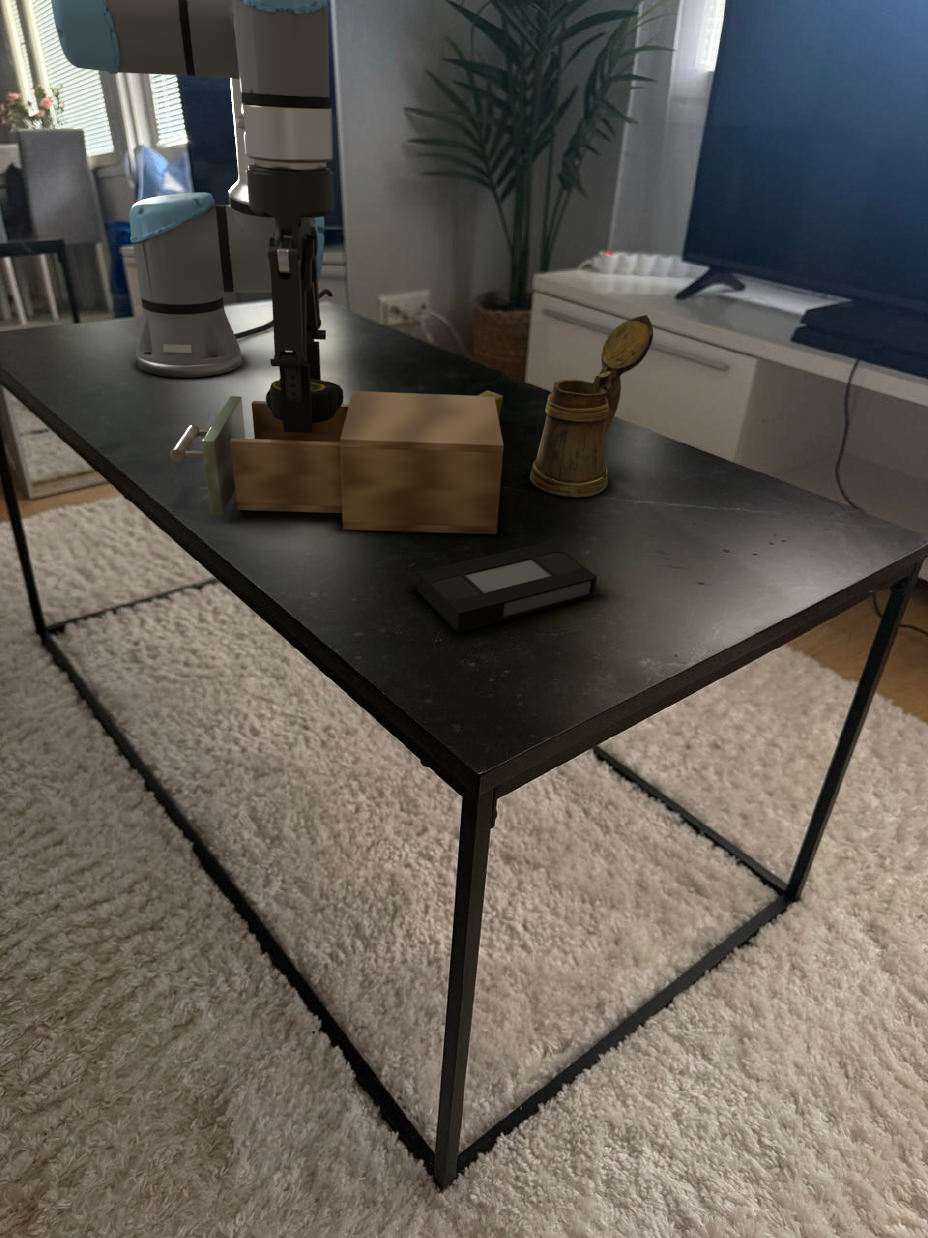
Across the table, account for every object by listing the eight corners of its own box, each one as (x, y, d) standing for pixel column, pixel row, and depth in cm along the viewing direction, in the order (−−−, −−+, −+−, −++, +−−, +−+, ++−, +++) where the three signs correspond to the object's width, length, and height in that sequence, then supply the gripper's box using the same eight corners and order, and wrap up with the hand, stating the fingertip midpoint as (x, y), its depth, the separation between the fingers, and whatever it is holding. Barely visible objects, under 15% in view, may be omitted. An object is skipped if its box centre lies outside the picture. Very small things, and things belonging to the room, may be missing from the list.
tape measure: (346, 413, 88) (346, 378, 86) (322, 435, 82) (321, 397, 80) (285, 405, 89) (283, 370, 87) (257, 426, 83) (254, 388, 81)
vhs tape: (595, 596, 76) (598, 577, 75) (457, 633, 70) (459, 613, 69) (548, 559, 81) (550, 541, 80) (417, 591, 75) (417, 572, 74)
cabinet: (342, 529, 84) (340, 439, 79) (354, 472, 97) (352, 390, 92) (496, 534, 85) (503, 445, 80) (488, 477, 98) (494, 396, 92)
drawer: (168, 513, 84) (156, 439, 79) (199, 461, 95) (191, 394, 91) (356, 519, 85) (354, 446, 80) (365, 467, 96) (364, 400, 92)
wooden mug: (650, 479, 99) (678, 323, 89) (565, 504, 92) (586, 337, 83) (598, 455, 105) (619, 306, 95) (514, 475, 98) (528, 317, 88)
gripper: (265, 152, 81) (281, 384, 94) (221, 172, 64) (248, 453, 77) (343, 156, 82) (348, 387, 94) (319, 177, 65) (330, 455, 77)
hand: (303, 416), depth 85 cm, fingers closed on tape measure, 7 cm apart
